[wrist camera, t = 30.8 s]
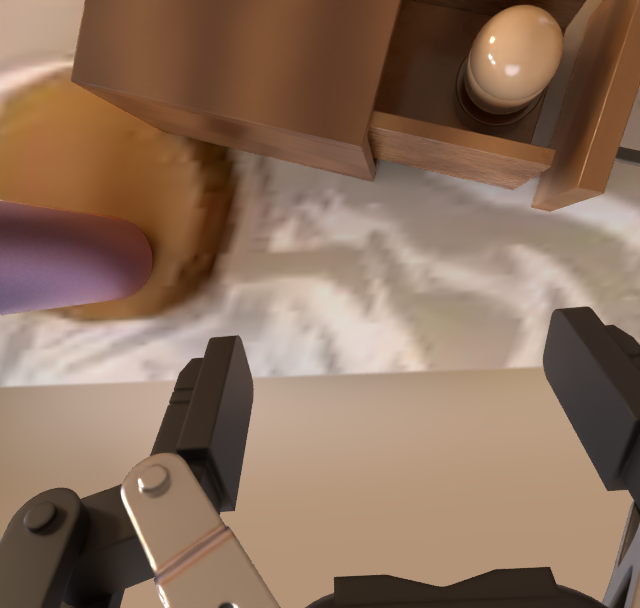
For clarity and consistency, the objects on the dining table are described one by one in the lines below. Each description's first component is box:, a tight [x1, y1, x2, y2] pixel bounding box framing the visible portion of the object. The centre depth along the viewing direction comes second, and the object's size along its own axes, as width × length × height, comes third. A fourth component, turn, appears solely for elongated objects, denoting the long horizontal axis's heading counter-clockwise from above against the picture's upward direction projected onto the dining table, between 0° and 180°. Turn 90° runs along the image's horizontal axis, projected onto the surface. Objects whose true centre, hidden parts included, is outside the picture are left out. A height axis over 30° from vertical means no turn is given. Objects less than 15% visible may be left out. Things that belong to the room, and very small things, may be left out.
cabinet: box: [71, 0, 403, 181], centre depth 27 cm, size 16×13×10 cm
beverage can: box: [0, 199, 152, 315], centre depth 28 cm, size 6×6×15 cm
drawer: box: [367, 0, 640, 212], centre depth 25 cm, size 19×11×8 cm, turn 75°
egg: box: [452, 4, 563, 135], centre depth 24 cm, size 5×5×7 cm
